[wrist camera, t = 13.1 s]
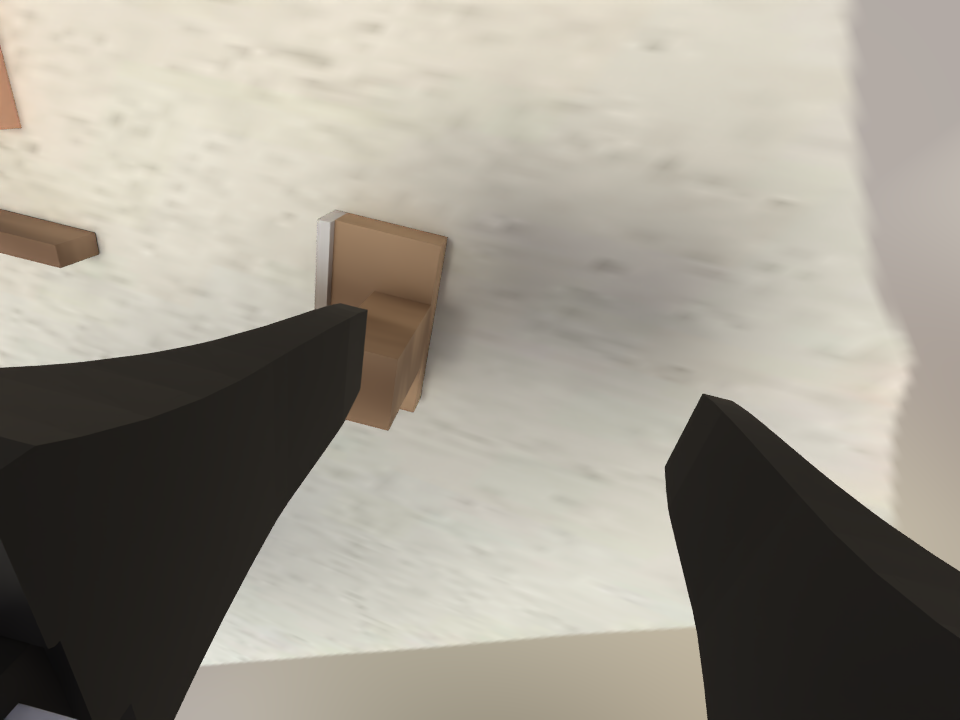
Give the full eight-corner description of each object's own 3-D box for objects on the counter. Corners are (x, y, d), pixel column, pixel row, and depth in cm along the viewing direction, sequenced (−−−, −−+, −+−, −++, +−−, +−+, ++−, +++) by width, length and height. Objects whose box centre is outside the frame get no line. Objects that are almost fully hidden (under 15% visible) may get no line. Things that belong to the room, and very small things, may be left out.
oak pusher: (421, 396, 24) (381, 481, 19) (328, 372, 24) (263, 450, 19) (448, 236, 20) (407, 289, 15) (336, 209, 20) (257, 252, 15)
